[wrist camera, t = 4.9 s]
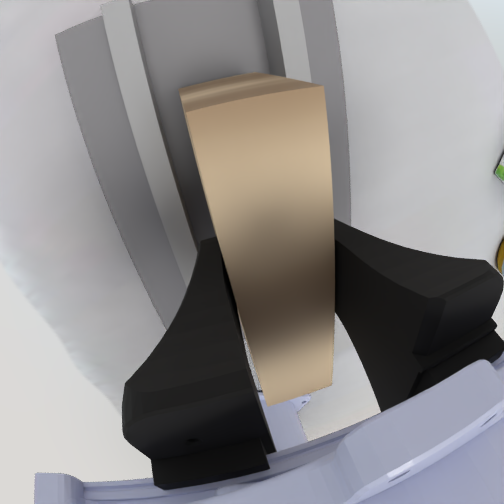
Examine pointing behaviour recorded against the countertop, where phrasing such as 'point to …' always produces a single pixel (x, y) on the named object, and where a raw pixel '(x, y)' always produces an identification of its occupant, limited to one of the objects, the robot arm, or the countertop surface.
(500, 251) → the bottle
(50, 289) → the countertop surface
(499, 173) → the syrup box
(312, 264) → the tan block
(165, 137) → the rail
